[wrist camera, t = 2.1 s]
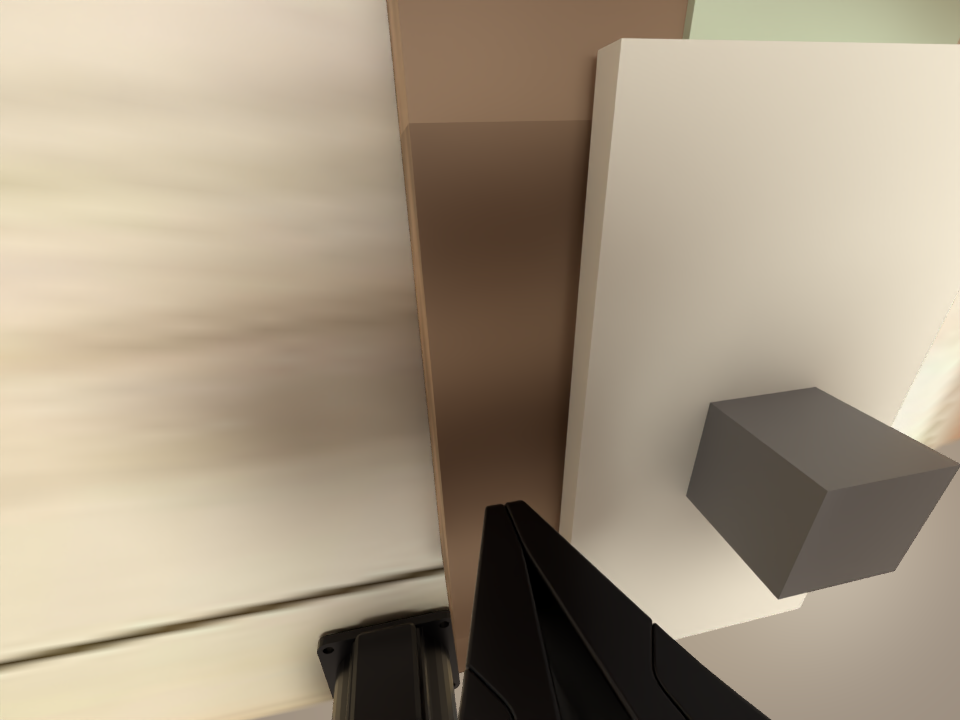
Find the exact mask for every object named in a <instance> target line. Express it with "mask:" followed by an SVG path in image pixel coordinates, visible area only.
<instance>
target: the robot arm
mask: <svg viewBox="0 0 960 720" xmlns="http://www.w3.org/2000/svg"><path fill="white" fill-rule="evenodd" d="M317 654H318V656H319V659H320V662H321V665H322V668H323V671H324V674H325V676H326V679H327V682H328V685H329V688H330V691H331V694H332V696H333V699H334V702H333V713H332V720H771V719H769V718H768V717H767V716H766V715H764V714H763V713H762V712H761V711H759V710H758V709H756V708H755V707H754V706H753V705H752V704H750V703H749V702H748V701H746V700H745V699H744V698H742V697H741V696H740V695H739V694H738V693H736V692H735V691H734V690H733V689H731V688H730V687H729V686H728V685H726V684H725V683H724V682H723V681H721V680H720V679H719V678H718V677H716V676H715V675H714V674H713V673H711V672H710V671H709V670H708V669H707V668H706V667H704V666H703V665H702V664H701V663H700V662H699V661H697V660H696V659H695V658H694V657H693V656H692V655H691V654H689V653H688V652H687V651H686V650H685V649H684V648H683V647H682V646H680V645H679V644H678V643H677V642H676V641H675V640H674V639H673V638H672V637H671V636H669V635H668V634H667V633H666V632H665V631H664V630H663V629H662V628H661V627H660V626H659V625H658V624H657V623H652V619H651V618H650V617H649V616H648V615H647V614H646V613H644V612H643V611H642V610H641V609H640V608H639V607H638V606H637V605H636V604H635V603H634V602H633V601H632V600H630V599H629V598H628V597H627V596H626V595H625V594H624V593H623V592H622V591H621V590H620V589H619V588H618V587H616V586H615V585H614V584H613V583H612V582H611V581H610V580H609V579H608V578H607V577H606V576H605V575H604V574H602V573H601V572H600V571H599V570H598V569H597V568H596V567H595V566H594V565H593V564H592V563H591V562H589V561H588V560H587V559H586V558H585V557H584V556H583V555H582V554H581V553H580V552H579V551H578V550H577V549H575V548H574V547H573V546H572V545H571V544H570V543H569V542H568V541H567V540H566V539H565V538H564V537H563V536H561V535H560V534H559V533H558V532H557V531H556V530H555V529H554V528H553V527H552V526H551V525H550V524H549V523H547V522H546V521H545V520H544V519H543V518H542V517H541V516H540V515H539V514H538V513H537V512H536V511H534V510H533V509H532V508H531V507H530V506H529V505H528V504H527V503H526V502H525V501H523V500H518V501H512V502H507V503H506V504H505V505H503V504H495V505H490V506H487V507H486V508H485V512H484V520H483V528H482V536H481V544H480V552H479V560H478V568H477V576H476V584H475V592H474V600H473V608H472V616H471V624H470V632H469V640H468V648H467V657H466V665H465V666H466V669H465V671H464V679H463V687H462V696H461V701H460V708H459V715H458V718H457V710H456V702H455V694H454V689H456V688H457V687H458V686H459V684H460V680H459V671H458V664H457V657H456V650H455V643H454V636H453V629H452V622H451V615H450V611H448V610H443V611H438V612H434V613H429V614H424V615H420V616H415V617H411V618H406V619H401V620H397V621H392V622H388V623H383V624H378V625H374V626H369V627H365V628H360V629H355V630H351V631H346V632H341V633H337V634H332V635H328V636H325V637H323V638H321V639H320V640H319V642H318V649H317Z"/></svg>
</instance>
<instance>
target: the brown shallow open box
mask: <svg viewBox="0 0 960 720" xmlns="http://www.w3.org/2000/svg"><path fill="white" fill-rule="evenodd" d="M386 2H387V12H388V22H389V31H390V41H391V51H392V61H393V71H394V81H395V91H396V101H397V111H398V121H399V131H400V141H401V151H402V161H403V171H404V181H405V191H406V201H407V211H408V221H409V231H410V241H411V251H412V261H413V271H414V281H415V291H416V301H417V311H418V321H419V331H420V341H421V351H422V361H423V371H424V381H425V390H426V400H427V410H428V420H429V430H430V440H431V450H432V460H433V470H434V480H435V490H436V500H437V510H438V520H439V530H440V540H441V550H442V558H443V565H444V572H445V580H446V587H447V594H448V601H449V608H450V615H451V622H452V629H453V636H454V643H455V650H456V657H457V664H458V671H459V673H462V672H464V671H465V669H466V666H465V665H466V657H467V648H468V640H469V632H470V624H471V616H472V608H473V600H474V592H475V584H476V576H477V568H478V560H479V552H480V544H481V536H482V528H483V520H484V512H485V508H486V507H487V506H490V505H495V504H503V505H505V504H506V503H507V502H512V501H518V500H523V501H525V502H526V503H527V504H528V505H529V506H530V507H531V508H532V509H533V510H534V511H536V512H537V513H538V514H539V515H540V516H541V517H542V518H543V519H544V520H545V521H546V522H547V523H549V524H550V525H551V526H552V527H553V528H554V529H555V530H556V531H557V532H558V533H559V527H560V514H561V502H562V490H563V477H564V465H565V452H566V440H567V427H568V415H569V403H570V390H571V378H572V365H573V353H574V341H575V328H576V316H577V303H578V291H579V279H580V266H581V254H582V241H583V229H584V216H585V204H586V192H587V179H588V167H589V154H590V142H591V130H592V117H593V105H594V92H595V80H596V68H597V55H598V50H599V49H601V48H603V47H605V46H607V45H609V44H611V43H613V42H615V41H617V40H619V39H621V38H640V39H694V40H748V41H802V42H856V43H911V44H960V0H386Z"/></svg>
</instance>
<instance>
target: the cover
mask: <svg viewBox="0 0 960 720" xmlns="http://www.w3.org/2000/svg"><path fill="white" fill-rule="evenodd" d="M959 290H960V44H911V43H856V42H802V41H748V40H694V39H640V38H621V39H619V40H617V41H615V42H613V43H611V44H609V45H607V46H605V47H603V48H601V49H599V50H598V55H597V68H596V80H595V92H594V105H593V117H592V130H591V142H590V154H589V167H588V179H587V192H586V204H585V216H584V229H583V241H582V254H581V266H580V279H579V291H578V303H577V316H576V328H575V341H574V353H573V365H572V378H571V390H570V403H569V415H568V427H567V440H566V452H565V465H564V477H563V490H562V502H561V514H560V527H559V534H560V535H561V536H563V537H564V538H565V539H566V540H567V541H568V542H569V543H570V544H571V545H572V546H573V547H574V548H575V549H577V550H578V551H579V552H580V553H581V554H582V555H583V556H584V557H585V558H586V559H587V560H588V561H589V562H591V563H592V564H593V565H594V566H595V567H596V568H597V569H598V570H599V571H600V572H601V573H602V574H604V575H605V576H606V577H607V578H608V579H609V580H610V581H611V582H612V583H613V584H614V585H615V586H616V587H618V588H619V589H620V590H621V591H622V592H623V593H624V594H625V595H626V596H627V597H628V598H629V599H630V600H632V601H633V602H634V603H635V604H636V605H637V606H638V607H639V608H640V609H641V610H642V611H643V612H644V613H646V614H647V615H648V616H649V617H650V618H651V619H652V623H657V624H658V625H659V626H660V627H661V628H662V629H663V630H664V631H665V632H666V633H667V634H668V635H669V636H671V637H672V638H673V639H674V640H676V639H680V638H684V637H687V636H691V635H695V634H699V633H704V632H707V631H712V630H716V629H719V628H723V627H727V626H731V625H735V624H739V623H743V622H747V621H751V620H755V619H759V618H763V617H767V616H771V615H775V614H779V613H782V612H786V611H790V610H795V609H799V608H800V606H801V604H802V602H803V600H804V599H805V596H806V594H807V593H808V592H811V591H815V590H819V589H823V588H827V587H832V586H836V585H840V584H844V583H848V582H852V581H856V580H860V579H864V578H868V577H872V576H876V575H880V574H884V573H889V572H892V571H895V570H896V568H897V566H898V565H899V563H900V562H901V560H902V558H903V557H904V555H905V554H906V552H907V550H908V549H909V547H910V545H911V544H912V542H913V541H914V539H915V538H916V536H917V534H918V533H919V531H920V530H921V528H922V526H923V525H924V523H925V522H926V520H927V518H928V517H929V515H930V514H931V512H932V510H933V509H934V507H935V506H936V504H937V503H938V500H939V499H940V498H941V496H942V495H943V493H944V491H945V490H946V488H947V487H948V485H949V483H950V482H951V480H952V478H953V477H954V475H955V474H956V472H957V471H958V469H959V467H960V464H959V463H957V462H955V461H953V460H952V459H950V458H948V457H946V456H944V455H942V454H940V453H939V452H937V451H935V450H933V449H931V448H929V447H927V446H925V445H924V444H922V443H920V442H918V441H916V440H914V439H912V438H910V437H909V436H907V435H905V434H903V433H901V432H899V431H897V430H895V429H894V428H892V427H891V426H892V424H893V422H894V420H895V418H896V416H897V414H898V412H899V410H900V408H901V406H902V404H903V402H904V400H905V398H906V396H907V394H908V392H909V390H910V388H911V386H912V384H913V382H914V380H915V378H916V376H917V374H918V372H919V370H920V368H921V366H922V364H923V362H924V360H925V358H926V356H927V354H928V352H929V350H930V348H931V346H932V344H933V342H934V340H935V338H936V336H937V334H938V332H939V330H940V328H941V326H942V324H943V322H944V320H945V318H946V316H947V314H948V312H949V310H950V308H951V306H952V304H953V302H954V300H955V298H956V296H957V294H958V292H959Z"/></svg>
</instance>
